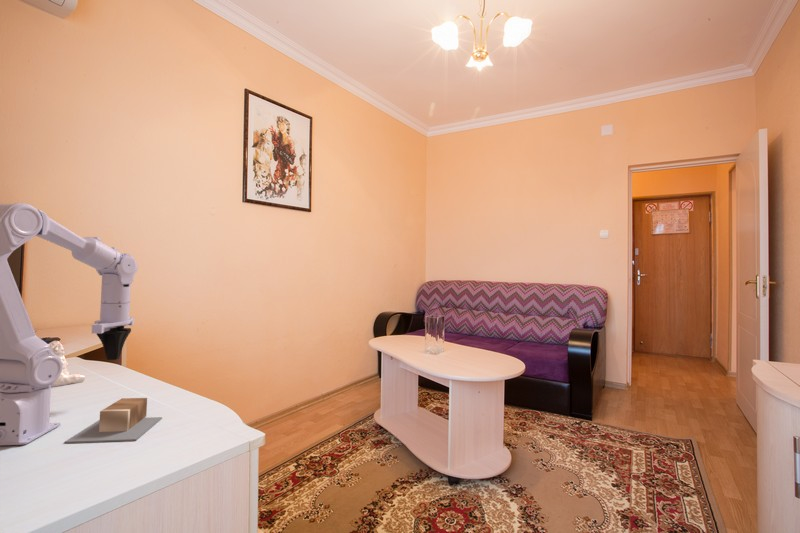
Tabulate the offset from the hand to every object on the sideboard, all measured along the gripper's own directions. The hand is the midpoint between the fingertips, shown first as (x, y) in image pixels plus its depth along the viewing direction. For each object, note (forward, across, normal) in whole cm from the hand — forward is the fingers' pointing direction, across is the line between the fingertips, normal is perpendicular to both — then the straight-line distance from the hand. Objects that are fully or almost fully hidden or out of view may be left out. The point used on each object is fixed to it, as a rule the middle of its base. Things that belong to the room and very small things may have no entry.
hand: (113, 359), depth 94 cm
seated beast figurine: (+11, -17, -22) cm, 30 cm away
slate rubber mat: (+10, +17, +10) cm, 23 cm away
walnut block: (+8, +11, +10) cm, 17 cm away
